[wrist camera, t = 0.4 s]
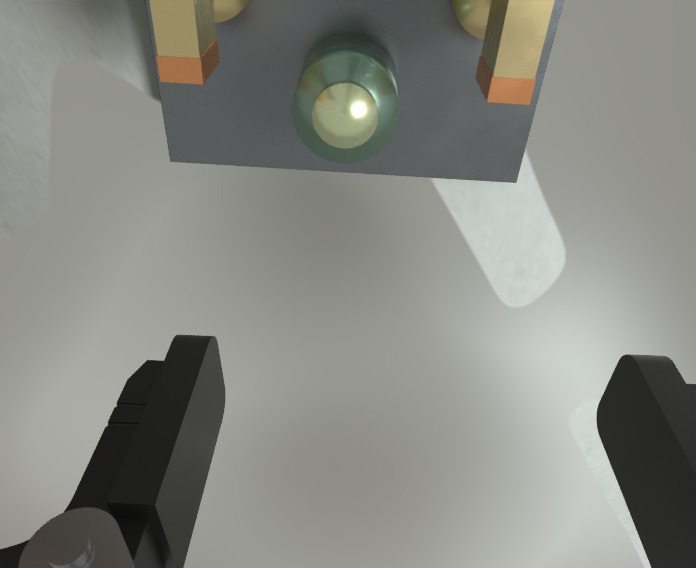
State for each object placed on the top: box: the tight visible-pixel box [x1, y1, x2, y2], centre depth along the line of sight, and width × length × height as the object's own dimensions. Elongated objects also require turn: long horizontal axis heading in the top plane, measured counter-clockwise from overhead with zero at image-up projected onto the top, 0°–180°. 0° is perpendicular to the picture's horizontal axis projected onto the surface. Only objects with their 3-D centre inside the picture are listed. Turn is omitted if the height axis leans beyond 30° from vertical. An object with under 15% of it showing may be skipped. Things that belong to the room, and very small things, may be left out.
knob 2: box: [450, 0, 555, 105], centre depth 28 cm, size 8×5×8 cm
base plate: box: [145, 0, 564, 183], centre depth 30 cm, size 20×24×7 cm
